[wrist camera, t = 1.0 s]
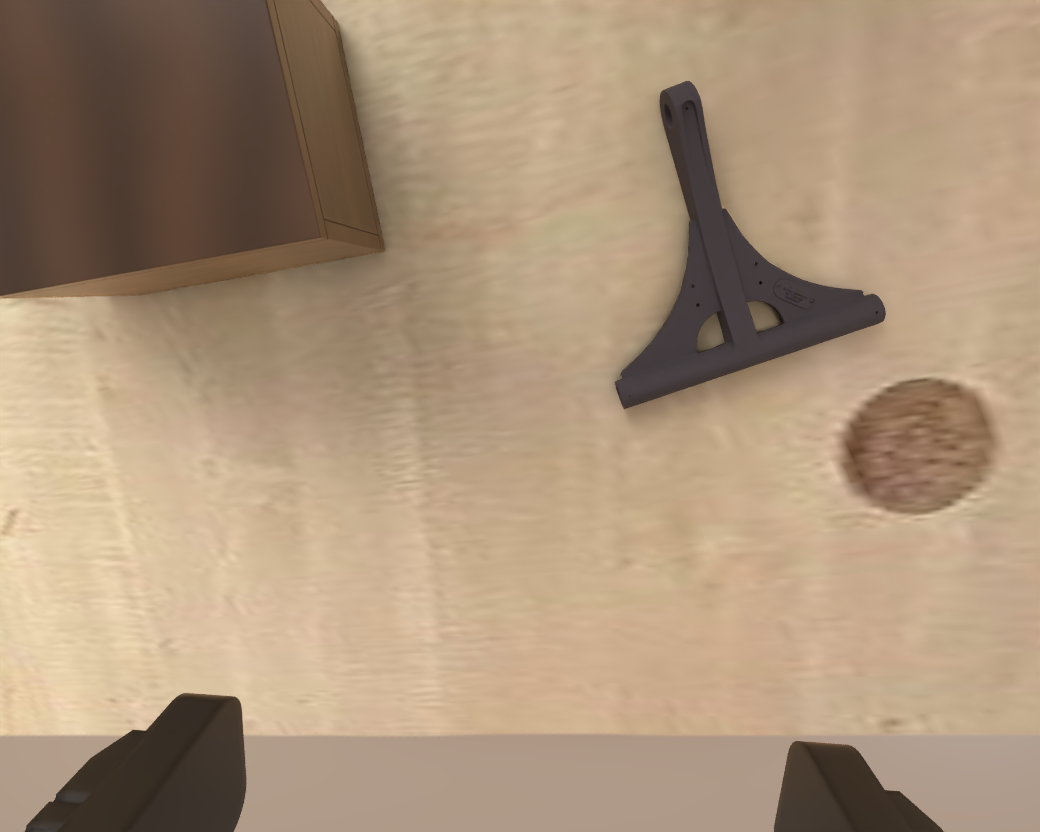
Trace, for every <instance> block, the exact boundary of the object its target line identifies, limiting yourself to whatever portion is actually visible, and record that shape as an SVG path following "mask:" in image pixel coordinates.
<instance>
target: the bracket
mask: <svg viewBox="0 0 1040 832" xmlns="http://www.w3.org/2000/svg"><path fill="white" fill-rule="evenodd" d="M660 108H661V114H662V119H663V123H664V127H665V131H666V135H667V138H668V142H669V145H670V149H671V152H672V156H673V159H674V163H675V166H676V170H677V174H678V177H679V181H680V184H681V188H682V191H683V195H684V198H685V202H686V205H687V209H688V212H689V216H690V219H691V221H690V222H689V246H688V259H687V266H686V270H685V275H684V279H683V284H682V288H681V292H680V294H679V296H678V299H677V301H676V303H675V305H674V307H673V309H672V311H671V313H670V315H669V317H668V318H667V320H666V322H665V324H664V325H663V327H662V328H661V330H660V331H659V333H658V334H657V335H656V337H655V338H654V339H653V341H652V342H651V343H650V344H649V345H648V347H647V348H646V349H645V350H644V351H643V352H642V353H641V354H640V355H639V356H638V357H637V358H636V359H635V360H634V361H633V362H632V363H631V364H630V365H628V366H627V367H626V368H625V369H624V370H623V371H622V372H621V375H622V379H621V380H618V381H616V382H615V385H616V389H617V392H618V395H619V398H620V401H621V403H622V406H623V408H624V409H626V408H629V407H632V406H635V405H638V404H641V403H644V402H647V401H650V400H653V399H656V398H659V397H662V396H665V395H668V394H671V393H674V392H677V391H680V390H683V389H685V388H688V387H691V386H694V385H697V384H700V383H703V382H706V381H709V380H712V379H715V378H718V377H721V376H724V375H727V374H730V373H733V372H736V371H739V370H742V369H745V368H748V367H751V366H754V365H757V364H760V363H763V362H766V361H769V360H772V359H775V358H778V357H780V356H783V355H786V354H789V353H792V352H795V351H798V350H801V349H804V348H807V347H810V346H813V345H816V344H819V343H822V342H825V341H828V340H831V339H834V338H837V337H840V336H843V335H846V334H849V333H852V332H855V331H858V330H861V329H864V328H867V327H870V326H873V325H875V324H878V323H881V322H883V321H884V319H885V314H886V313H885V307H884V305H883V303H882V301H881V299H880V298H879V297H878V296H877V295H875V294H870V295H866V296H864V295H863V291H861V290H851V289H840V288H833V287H827V286H822V285H818V284H814V283H811V282H808V281H805V280H802V279H800V278H797V277H795V276H793V275H791V274H789V273H787V272H785V271H783V270H781V269H779V268H778V267H776V266H774V265H772V264H771V263H769V262H768V261H767V260H765V259H764V258H763V257H762V256H761V255H760V254H759V253H758V252H757V251H756V250H755V249H754V248H753V247H752V246H751V245H750V244H749V242H748V241H747V240H746V239H745V238H744V236H743V235H742V234H741V232H740V231H739V229H738V228H737V226H736V225H735V223H734V221H733V220H732V218H731V217H730V215H729V213H728V212H727V210H726V209H722V207H721V203H720V199H719V194H718V190H717V186H716V181H715V175H714V170H713V165H712V160H711V154H710V149H709V144H708V139H707V134H706V128H705V122H704V116H703V109H702V104H701V99H700V96H699V94H698V92H697V90H696V88H695V86H694V85H693V84H692V83H691V82H690V81H685V82H683V83H680V84H678V85H675V86H673V87H670V88H668V89H665V90H663V91H662V92H661V95H660ZM754 263H755V266H754ZM759 282H760V284H759ZM691 285H693V287H692V288H691ZM751 300H756V301H762V302H765V303H767V304H769V305H771V306H772V307H773V308H774V309H775V310H776V311H777V312H778V314H779V316H780V317H781V319H782V322H783V324H782V325H779V326H776V327H774V328H771V329H768V330H765V331H761V332H758V333H756V329H755V326H754V323H753V320H752V317H751V314H750V311H749V308H748V304H747V302H748V301H751ZM697 303H698V306H696V304H697ZM716 312H717V315H718V318H719V322H720V325H721V329H722V332H723V336H724V340H725V343H724V344H722V345H720V346H718V347H715V348H712V349H709V350H706V351H704V352H700V353H698V352H697V348H696V347H697V336H698V333H699V330H700V328H701V326H702V325H703V323H704V322H705V321H706V320H707V319H708V318H709V317H710V316H711V315H713V314H714V313H716Z"/></svg>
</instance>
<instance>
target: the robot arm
mask: <svg viewBox="0 0 1040 832" xmlns="http://www.w3.org/2000/svg"><path fill="white" fill-rule="evenodd" d="M245 792H246V768H245V753H244V737H243V722H242V709H241V704H240V701H239V699H238V698H237V697H232V696H219V695H206V694H193V693H183V694H181V695H179V696H178V697H176V698H175V699H174V700H173V701H172V702H171V703H170V704H169V705H168V707H167V708H166V709H165V710H164V711H163V712H162V713H161V714H160V716H159V717H158V718H157V719H156V720H155V721H154V722H153V723H152V725H151V726H150V727H149V728H148V729H147V730H146V731H142V730H132V731H131V732H129V733H128V734H126V735H125V736H123V737H122V738H120V739H119V740H117V741H116V742H114V743H113V744H111V745H110V746H108V747H107V748H105V749H104V750H102V751H101V752H99V753H98V754H96V755H95V756H93V757H92V758H90V759H89V760H88V762H87V763H86V764H85V765H84V766H83V767H82V768H81V769H80V770H79V771H78V772H77V773H76V774H75V775H74V776H73V777H72V778H71V779H70V781H69V782H68V783H67V784H66V785H65V786H64V787H63V788H62V789H61V790H60V791H59V792H58V793H57V794H56V798H55V800H54V801H53V802H49V803H48V804H47V805H46V806H45V807H44V808H43V809H42V810H41V811H40V812H39V813H38V814H37V815H36V816H35V817H34V819H32V820H31V822H30V823H29V824H28V825H27V827H26V830H25V832H233V831H234V830H235V827H236V825H237V823H238V820H239V817H240V814H241V811H242V807H243V803H244V798H245ZM774 832H943V830H942V829H941V828H940V827H939V826H938V825H937V824H936V823H935V822H933V821H932V820H931V819H930V818H929V817H928V816H927V815H926V814H924V813H923V812H922V811H921V810H920V809H919V808H918V807H917V806H915V805H914V804H913V803H912V802H911V801H910V800H909V799H908V798H906V797H905V796H904V795H903V794H902V793H901V792H900V791H887V790H884V788H883V787H882V785H881V784H880V782H879V781H878V779H877V778H876V776H875V775H874V773H873V772H872V770H871V769H870V767H869V766H868V765H867V763H866V761H865V760H864V758H863V757H862V756H861V754H860V753H859V752H858V751H857V750H856V749H855V748H854V747H852V746H850V745H842V744H829V743H828V744H827V743H816V742H802V741H795V742H794V743H792V745H791V746H790V749H789V752H788V756H787V762H786V767H785V772H784V778H783V783H782V788H781V793H780V798H779V804H778V809H777V814H776V820H775V825H774Z"/></svg>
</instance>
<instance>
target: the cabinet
mask: <svg viewBox="0 0 1040 832" xmlns="http://www.w3.org/2000/svg"><path fill="white" fill-rule="evenodd" d="M384 251H385V248H384V243H383V238H382V234H381V229H380V224H379V219H378V215H377V210H376V205H375V200H374V195H373V191H372V186H371V181H370V176H369V171H368V167H367V162H366V157H365V152H364V147H363V143H362V138H361V133H360V128H359V123H358V119H357V114H356V109H355V104H354V99H353V95H352V90H351V85H350V80H349V76H348V71H347V66H346V61H345V56H344V52H343V47H342V42H341V37H340V32H339V28H338V23H337V21H336V20H335V18H334V17H333V16H332V15H331V13H330V12H329V11H328V10H327V8H326V7H325V6H324V4H323V3H322V2H321V1H320V0H0V299H1V298H43V297H85V296H127V295H144V294H150V293H155V292H161V291H167V290H172V289H178V288H183V287H189V286H195V285H200V284H206V283H211V282H217V281H223V280H228V279H234V278H239V277H245V276H250V275H256V274H262V273H267V272H273V271H278V270H284V269H290V268H295V267H301V266H306V265H312V264H317V263H323V262H329V261H334V260H340V259H345V258H351V257H357V256H362V255H368V254H373V253H379V252H384Z"/></svg>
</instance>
